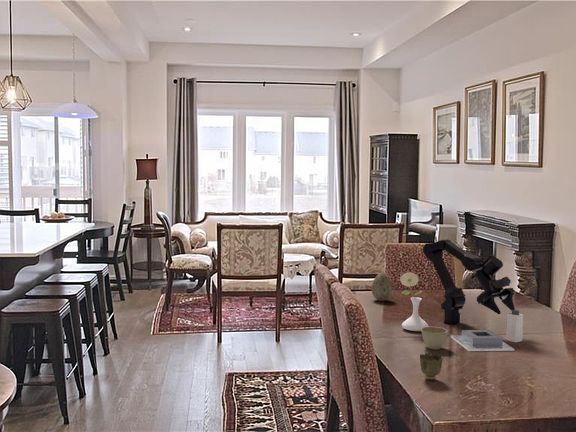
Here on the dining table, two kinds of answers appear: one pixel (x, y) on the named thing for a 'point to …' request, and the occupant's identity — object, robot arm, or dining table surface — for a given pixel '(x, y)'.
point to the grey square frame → (481, 341)
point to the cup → (431, 365)
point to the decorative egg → (382, 287)
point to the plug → (514, 326)
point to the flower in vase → (414, 321)
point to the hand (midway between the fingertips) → (507, 312)
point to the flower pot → (434, 337)
